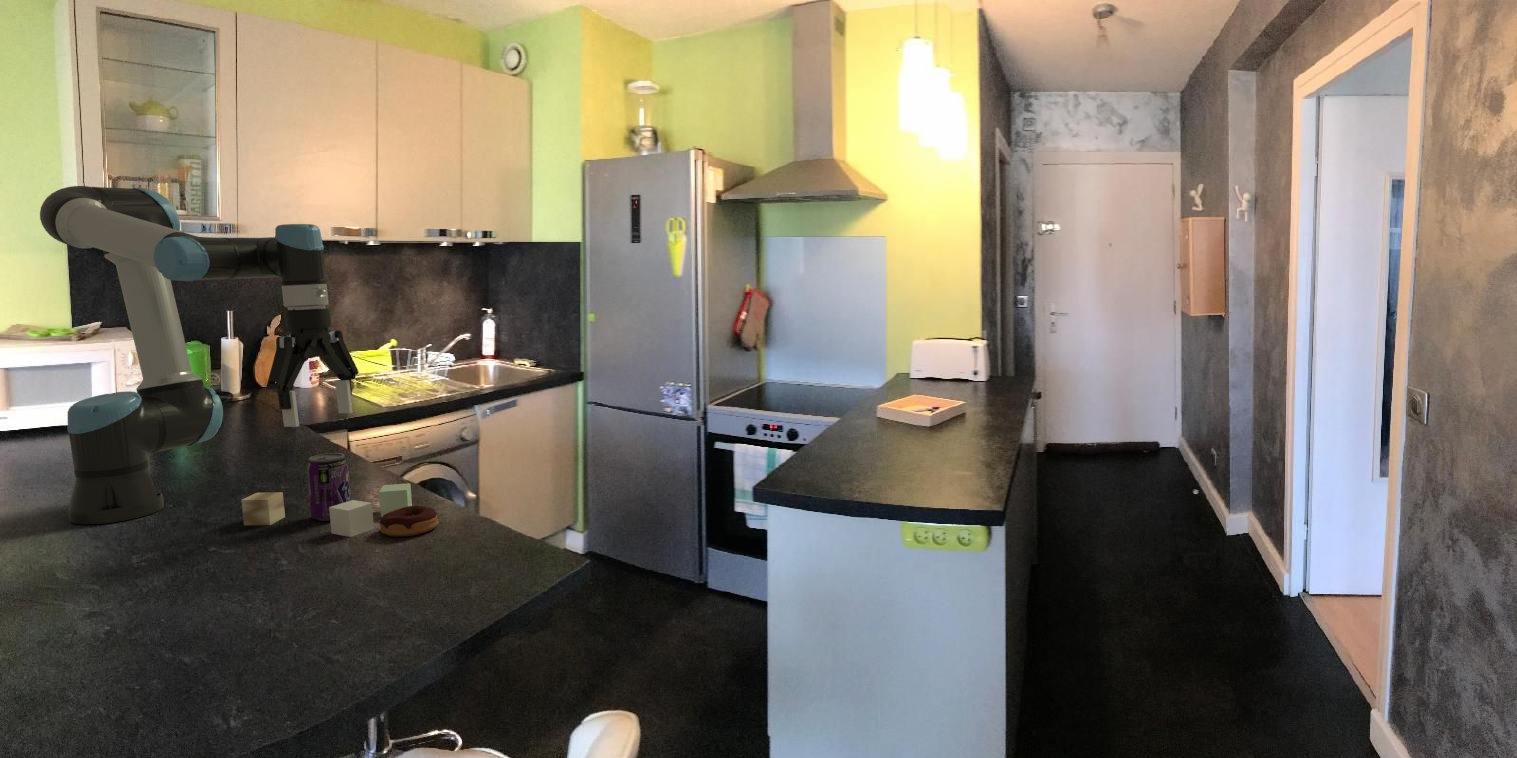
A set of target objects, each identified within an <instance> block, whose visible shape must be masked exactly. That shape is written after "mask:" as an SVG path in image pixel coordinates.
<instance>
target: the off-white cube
mask: <svg viewBox="0 0 1517 758" xmlns="http://www.w3.org/2000/svg"><path fill="white" fill-rule="evenodd" d="M329 510H330V521H329V522H330V533H331V535H333V534H334V535H338V536H344V537H348V538H349V537H350V538H352V537H355V536H357V535H361V534H363V533H366V532H369V531H372V530H374V529H375V527H374V526H375V525H374V514H373V503H372V502H369V501H361V500H355V499H351V501H348V502H345V503H341V504H338V505H335V506H332V507H329Z"/></svg>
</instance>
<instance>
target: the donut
mask: <svg viewBox="0 0 1517 758" xmlns="http://www.w3.org/2000/svg"><path fill="white" fill-rule="evenodd" d="M378 523H379V524H380V532H381V533H383V534H384V535H386V536H389V537H392V538H393V537H395V538H398V537H411V536H417V535H421V534H425V533H428V532H430V531H432V530H433V529H434V528H436V527H437V526H438V525H439V523H440V521H439V519H438V512H436V510H435V509H434V508H433V507H428V506H423V505H412V506H408V507H404V508H400V509H397V510H394V511H392V512H389V513H386V514H385V515H383V517H380V519H379V522H378Z"/></svg>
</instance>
